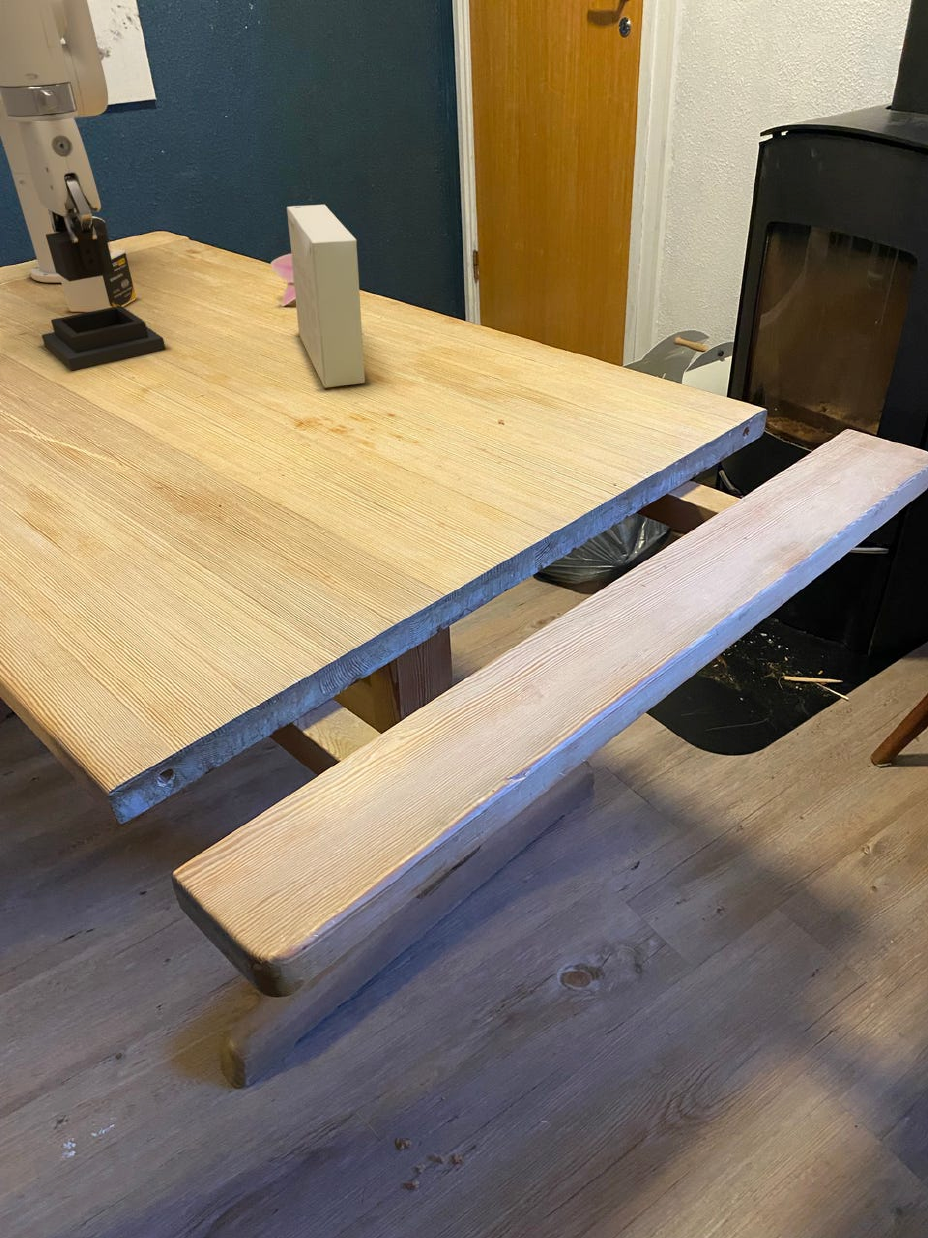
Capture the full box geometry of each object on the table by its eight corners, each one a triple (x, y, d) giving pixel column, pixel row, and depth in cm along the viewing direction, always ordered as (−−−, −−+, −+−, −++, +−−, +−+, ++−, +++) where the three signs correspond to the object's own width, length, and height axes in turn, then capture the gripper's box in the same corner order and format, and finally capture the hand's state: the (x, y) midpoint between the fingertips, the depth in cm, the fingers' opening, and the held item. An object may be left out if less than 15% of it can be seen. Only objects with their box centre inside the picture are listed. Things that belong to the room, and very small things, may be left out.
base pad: (44, 345, 119) (36, 319, 117) (133, 326, 124) (127, 300, 122) (71, 370, 111) (63, 342, 109) (165, 349, 116) (159, 321, 114)
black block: (56, 272, 113) (45, 234, 110) (100, 264, 115) (91, 227, 113) (69, 281, 109) (58, 242, 106) (115, 273, 112) (105, 234, 109)
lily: (275, 301, 136) (247, 250, 128) (341, 260, 137) (317, 207, 128) (307, 345, 130) (280, 296, 122) (376, 302, 131) (354, 250, 122)
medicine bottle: (113, 313, 130) (90, 224, 123) (68, 312, 131) (43, 223, 124) (137, 299, 135) (117, 213, 128) (94, 297, 137) (72, 212, 130)
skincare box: (370, 384, 104) (357, 238, 95) (324, 390, 103) (306, 243, 94) (339, 329, 121) (325, 201, 112) (298, 334, 120) (281, 204, 111)
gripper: (97, 105, 97) (137, 278, 108) (52, 95, 109) (92, 252, 119) (25, 111, 94) (74, 290, 104) (-13, 101, 105) (34, 262, 116)
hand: (83, 268), depth 112 cm, fingers closed on black block, 5 cm apart
